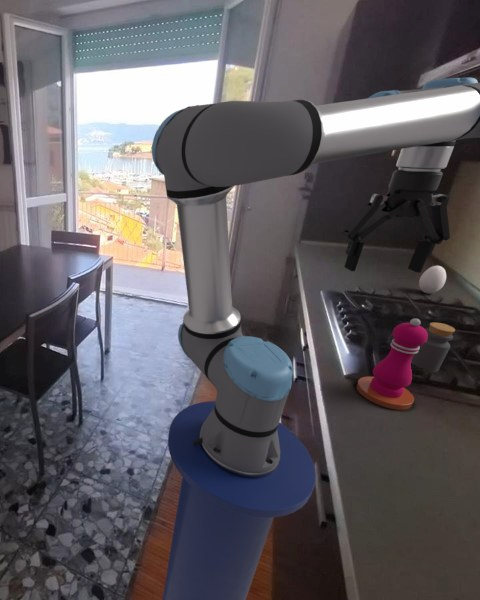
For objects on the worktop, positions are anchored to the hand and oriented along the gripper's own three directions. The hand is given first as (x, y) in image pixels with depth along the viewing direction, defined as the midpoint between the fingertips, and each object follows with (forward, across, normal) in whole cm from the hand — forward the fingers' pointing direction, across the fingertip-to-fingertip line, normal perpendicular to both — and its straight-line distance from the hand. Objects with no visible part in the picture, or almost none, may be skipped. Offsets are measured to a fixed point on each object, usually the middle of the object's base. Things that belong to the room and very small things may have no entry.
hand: (381, 269), depth 80 cm
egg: (+32, -68, -64) cm, 99 cm away
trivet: (+32, -8, +4) cm, 33 cm away
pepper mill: (+30, -8, +4) cm, 32 cm away
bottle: (+32, -24, -6) cm, 40 cm away
